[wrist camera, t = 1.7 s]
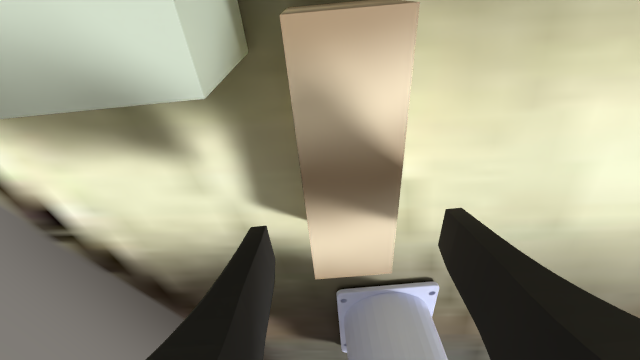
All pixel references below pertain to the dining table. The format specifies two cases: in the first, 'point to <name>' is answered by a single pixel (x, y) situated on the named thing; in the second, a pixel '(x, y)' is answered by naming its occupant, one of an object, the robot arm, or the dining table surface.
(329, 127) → the peg
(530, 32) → the dining table surface
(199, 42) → the block
